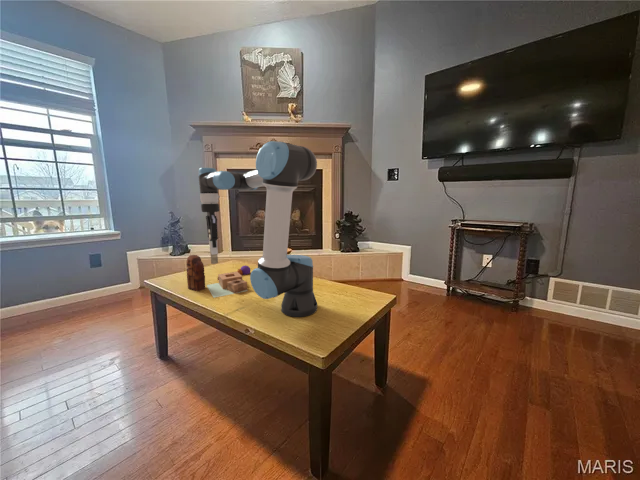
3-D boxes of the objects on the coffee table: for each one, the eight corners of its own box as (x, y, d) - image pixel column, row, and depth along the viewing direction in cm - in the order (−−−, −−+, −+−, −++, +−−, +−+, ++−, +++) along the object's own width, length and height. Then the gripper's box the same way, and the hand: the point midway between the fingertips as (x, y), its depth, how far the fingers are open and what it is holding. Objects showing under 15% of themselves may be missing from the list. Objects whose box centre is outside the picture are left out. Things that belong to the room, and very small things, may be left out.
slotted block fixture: (248, 292, 128) (247, 281, 127) (213, 299, 119) (212, 287, 118) (237, 281, 144) (236, 271, 143) (206, 286, 136) (205, 275, 135)
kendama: (215, 274, 144) (245, 264, 159) (217, 284, 145) (247, 273, 160) (220, 274, 141) (251, 264, 155) (223, 285, 141) (253, 273, 156)
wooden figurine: (184, 289, 133) (180, 255, 130) (196, 285, 138) (192, 252, 135) (197, 294, 126) (193, 258, 123) (208, 290, 131) (206, 255, 128)
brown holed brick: (247, 289, 129) (246, 281, 129) (234, 293, 124) (233, 285, 124) (240, 286, 134) (239, 278, 133) (227, 289, 129) (226, 282, 128)
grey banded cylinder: (218, 263, 122) (216, 229, 119) (211, 264, 120) (209, 230, 118) (217, 261, 125) (214, 229, 122) (210, 262, 123) (207, 229, 120)
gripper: (222, 203, 113) (226, 255, 117) (215, 202, 126) (218, 249, 130) (204, 203, 109) (208, 257, 113) (198, 202, 122) (202, 251, 126)
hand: (213, 253), depth 122 cm, fingers closed on grey banded cylinder, 3 cm apart
